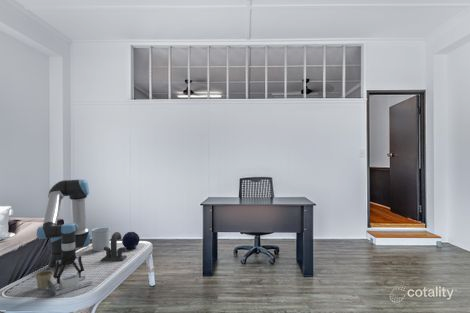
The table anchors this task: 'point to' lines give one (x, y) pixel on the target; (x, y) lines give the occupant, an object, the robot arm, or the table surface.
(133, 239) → the decorative orb
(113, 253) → the faucet
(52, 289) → the rail
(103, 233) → the utensil holder
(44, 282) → the flower pot
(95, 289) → the table surface
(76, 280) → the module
